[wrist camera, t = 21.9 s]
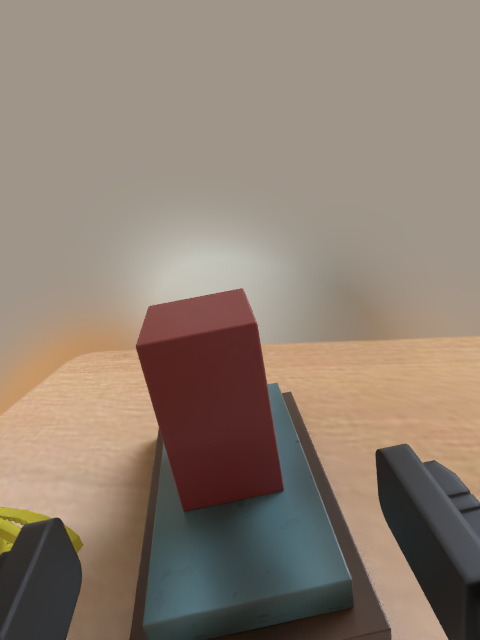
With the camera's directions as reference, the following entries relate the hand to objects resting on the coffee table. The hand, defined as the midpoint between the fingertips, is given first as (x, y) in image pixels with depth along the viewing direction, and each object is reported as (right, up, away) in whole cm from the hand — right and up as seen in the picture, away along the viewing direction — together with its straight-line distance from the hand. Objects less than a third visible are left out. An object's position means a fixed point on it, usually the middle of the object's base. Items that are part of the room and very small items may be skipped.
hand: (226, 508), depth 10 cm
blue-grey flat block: (0, -6, +13) cm, 14 cm away
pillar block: (0, -3, +12) cm, 12 cm away
